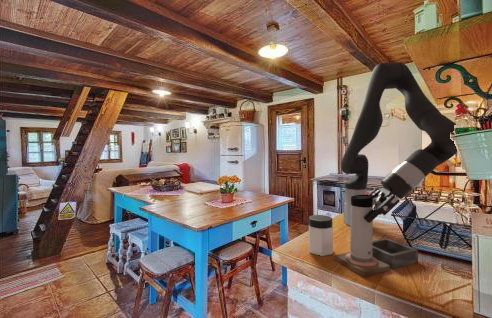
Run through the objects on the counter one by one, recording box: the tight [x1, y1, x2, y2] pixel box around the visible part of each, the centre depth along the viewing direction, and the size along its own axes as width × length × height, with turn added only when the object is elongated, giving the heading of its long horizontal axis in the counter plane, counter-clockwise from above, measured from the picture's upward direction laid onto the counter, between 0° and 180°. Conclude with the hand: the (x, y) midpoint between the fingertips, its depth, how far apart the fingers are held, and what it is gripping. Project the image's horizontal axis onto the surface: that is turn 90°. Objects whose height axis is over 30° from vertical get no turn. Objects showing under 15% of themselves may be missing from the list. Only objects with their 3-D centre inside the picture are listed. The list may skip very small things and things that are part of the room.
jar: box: [307, 214, 334, 257], centre depth 88 cm, size 9×8×12 cm
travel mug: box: [349, 194, 374, 262], centre depth 77 cm, size 6×7×20 cm
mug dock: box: [334, 237, 419, 278], centre depth 80 cm, size 12×23×4 cm, turn 111°
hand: (361, 216), depth 77 cm, fingers open, 8 cm apart
